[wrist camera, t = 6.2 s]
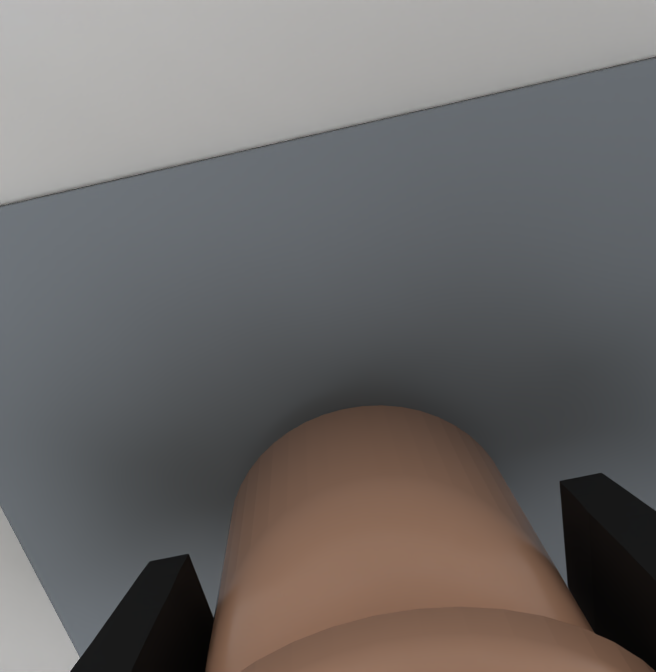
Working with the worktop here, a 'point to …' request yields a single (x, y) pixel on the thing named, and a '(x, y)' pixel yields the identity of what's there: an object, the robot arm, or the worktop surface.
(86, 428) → the slate mat
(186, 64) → the worktop surface
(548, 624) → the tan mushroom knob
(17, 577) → the worktop surface
